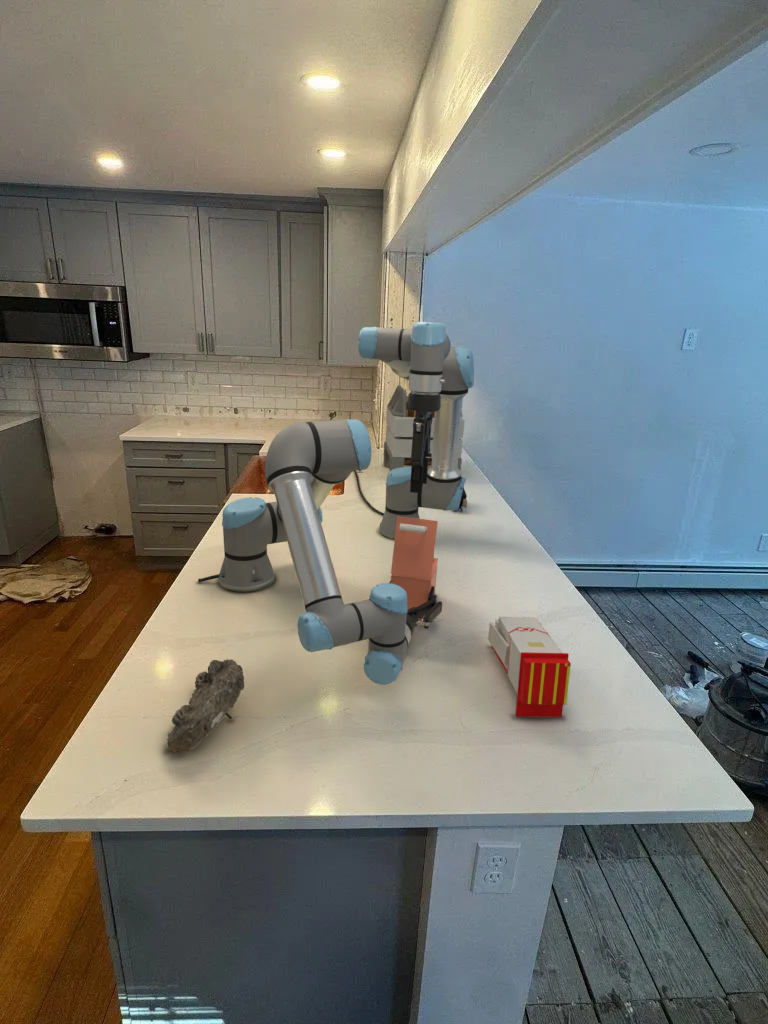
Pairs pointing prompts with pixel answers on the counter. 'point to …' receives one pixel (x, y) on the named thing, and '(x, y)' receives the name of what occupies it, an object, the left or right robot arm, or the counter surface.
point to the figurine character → (463, 500)
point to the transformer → (405, 432)
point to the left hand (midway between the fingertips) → (412, 588)
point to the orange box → (414, 547)
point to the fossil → (206, 705)
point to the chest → (416, 586)
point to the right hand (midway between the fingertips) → (418, 487)
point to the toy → (531, 665)
